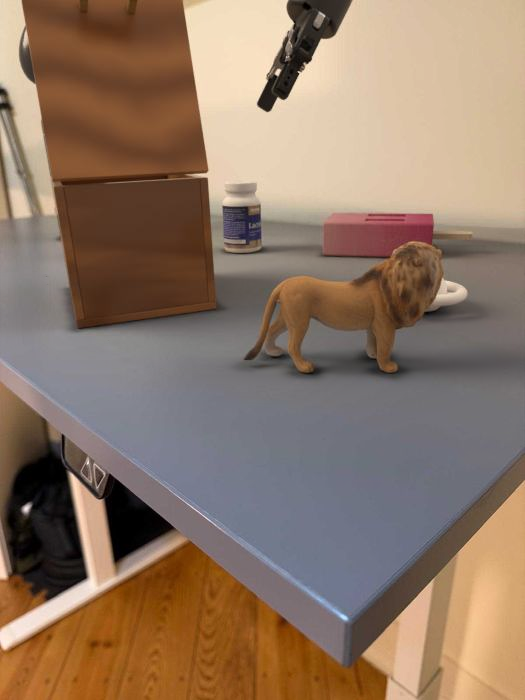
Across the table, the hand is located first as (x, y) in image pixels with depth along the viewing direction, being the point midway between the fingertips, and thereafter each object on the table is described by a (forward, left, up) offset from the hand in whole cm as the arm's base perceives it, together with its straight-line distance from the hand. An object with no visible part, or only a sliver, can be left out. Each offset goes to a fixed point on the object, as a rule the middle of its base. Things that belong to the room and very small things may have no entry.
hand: (270, 103), depth 73 cm
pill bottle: (-4, -4, -20) cm, 21 cm away
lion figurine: (+40, -11, -20) cm, 46 cm away
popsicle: (+8, +16, -20) cm, 27 cm away
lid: (+20, -22, +1) cm, 30 cm away
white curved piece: (+32, +3, -20) cm, 38 cm away
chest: (+15, -22, -20) cm, 34 cm away
